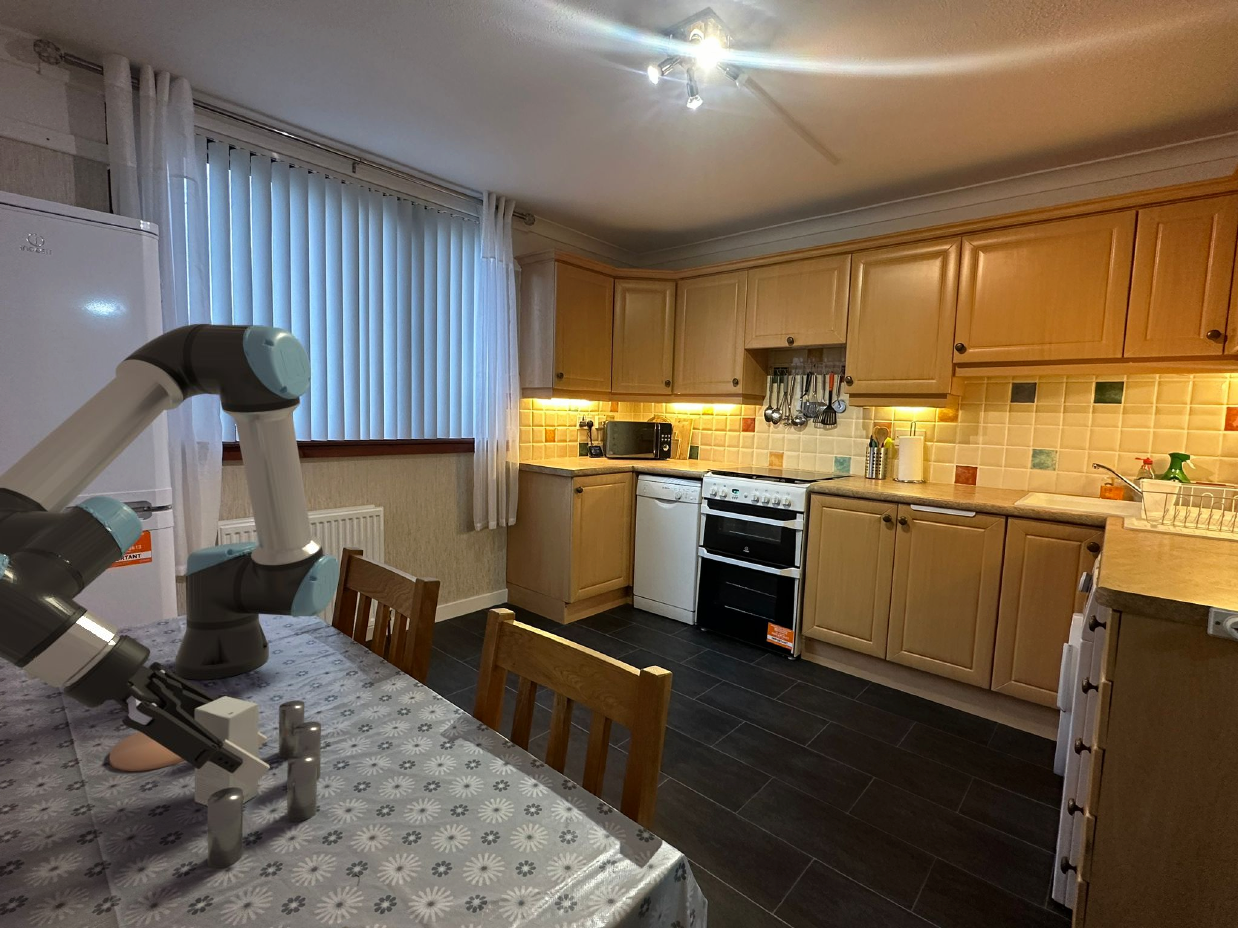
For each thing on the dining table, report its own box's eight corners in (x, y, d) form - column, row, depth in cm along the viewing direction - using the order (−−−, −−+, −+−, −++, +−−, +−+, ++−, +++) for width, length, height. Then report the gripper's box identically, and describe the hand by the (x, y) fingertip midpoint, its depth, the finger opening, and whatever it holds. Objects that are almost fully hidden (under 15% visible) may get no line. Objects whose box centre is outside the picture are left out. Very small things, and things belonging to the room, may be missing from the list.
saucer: (181, 719, 93) (181, 714, 93) (233, 737, 89) (233, 732, 89) (89, 757, 82) (89, 751, 82) (144, 779, 78) (144, 773, 78)
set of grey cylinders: (255, 732, 91) (256, 687, 90) (376, 771, 82) (377, 722, 81) (92, 812, 71) (91, 755, 71) (227, 875, 62) (227, 811, 62)
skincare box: (259, 794, 76) (260, 703, 75) (228, 814, 72) (228, 718, 71) (225, 783, 78) (225, 694, 77) (192, 802, 74) (192, 708, 73)
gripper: (79, 656, 74) (234, 749, 84) (35, 728, 57) (235, 833, 67) (134, 609, 76) (278, 704, 86) (106, 664, 60) (289, 774, 70)
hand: (259, 760), depth 77 cm, fingers closed on skincare box, 7 cm apart
